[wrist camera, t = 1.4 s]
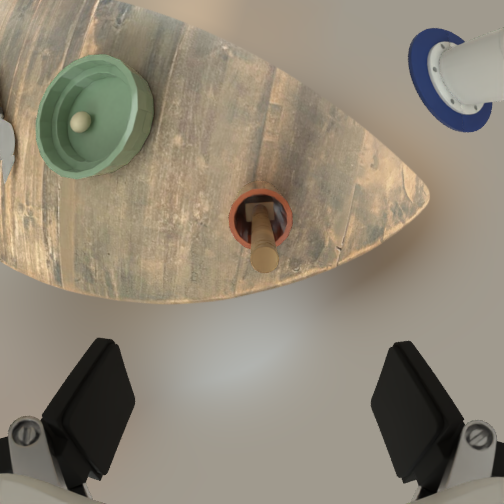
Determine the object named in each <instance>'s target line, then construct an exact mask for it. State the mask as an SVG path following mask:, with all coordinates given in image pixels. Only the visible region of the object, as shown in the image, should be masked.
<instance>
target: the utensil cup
mask: <svg viewBox="0 0 504 504" xmlns="http://www.w3.org/2000/svg"><path fill="white" fill-rule="evenodd" d="M259 196H271V197H272V200H273V202H274V220H270V223H271V227H272V231H273V235H274V239H275V244H276V247H277V246H279V245H280V244H281V243H282V242H283V241H284V240H285V239H286V238H287V237H288V235H289V233H290V230H291V228H292V224H293V220H292V211H291V209H290V207H289V204H288V202H287V201H286V199H285V198H284V197H283V195H282V194H281V193H280V192H279V190H278V189H277V188H276V187H275V186H273V185H272V184H270V183H268V182H265V181H253V182H250V183H248V184H246V185H245V186H243V187H242V188H241V190H240V191H239V192H238V194H237V196H236V198H235V200H234V202H233V204H232V207H231V210H230V213H229V227H230V230H231V232H232V234H233V236H234V238H235V239H236V240H237V241H238V242H239V243H240V244H242V245H243V246H244V247H246V248H249V249H251V232H252V221H251V222H247V221H246V210H245V202H246V198H248V197H259Z"/></svg>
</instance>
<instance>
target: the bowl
mask: <svg viewBox="0 0 504 504" xmlns="http://www.w3.org/2000/svg"><path fill="white" fill-rule="evenodd" d="M80 111H84V112H87V113H88V114H89V115H90V117H91V124H90V127H89V128H88V129H87V130H86V131H84V132H82V133H77V132H74V131H73V130H72V128H71V126H70V121H71V118H72V117H73V115H74V114H76V113H77V112H80ZM153 116H154V108H153V96H152V93H151V91H150V88H149V86H148V83H147V81H146V80H145V79H144V78H143V77H142V76H141V75H140V74H139V73H138V72H137V71H136V70H135V69H133V68H132V67H130V66H129V65H127V64H125V63H124V62H122V61H121V60H119V59H117V58H114V57H111V56H109V55H106V54H101V55H88V56H86V57H83V58H81V59H78V60H76V61H74V62H72V63H71V64H69V65H68V66H67V67H66V68H64V69H63V70H62V71H61V72H59V73H58V75H57V76H56V77H55V78H54V80H53V81H52V82H51V84H50V85H49V86H48V88H47V89H46V91H45V94H44V96H43V98H42V100H41V102H40V105H39V109H38V114H37V119H36V141H37V145H38V148H39V151H40V155H41V157H42V158H43V160H44V161H45V163H46V164H47V165H48V167H49V168H50V169H51V170H53V171H54V172H56V173H57V174H59V175H60V176H62V177H66V178H72V179H81V178H87V177H92V176H98V175H103V174H108V173H112V172H114V171H116V170H118V169H120V168H121V167H123V166H125V165H126V164H128V163H129V162H130V161H131V159H132V158H133V157H134V156H135V155H136V154H137V153H138V152H139V151H140V150H141V148H142V146H143V144H144V142H145V140H146V139H147V137H148V135H149V133H150V129H151V124H152V120H153Z"/></svg>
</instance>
